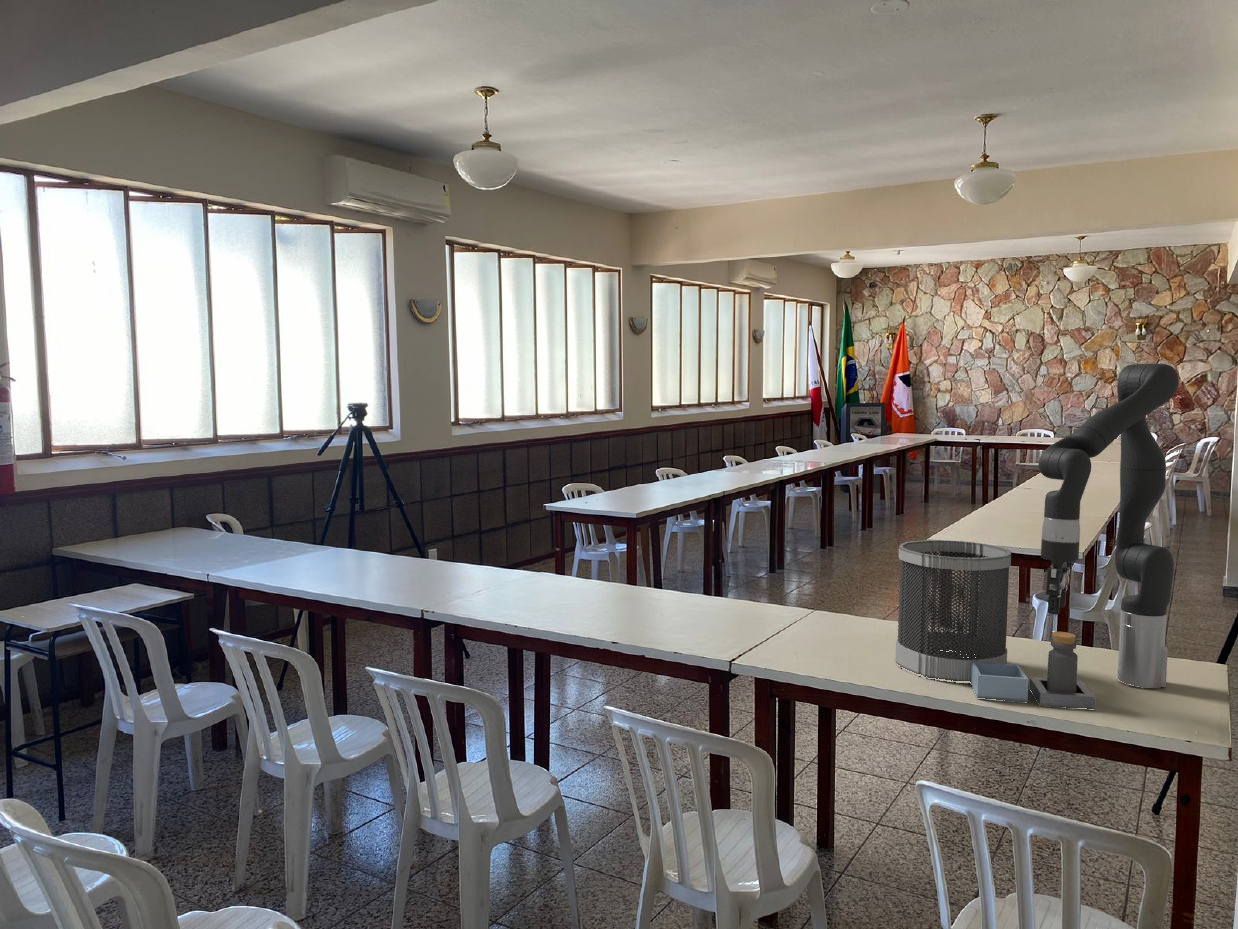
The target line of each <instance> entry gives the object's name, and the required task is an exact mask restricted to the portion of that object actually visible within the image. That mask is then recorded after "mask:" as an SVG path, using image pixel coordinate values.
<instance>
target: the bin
mask: <svg viewBox="0 0 1238 929" xmlns="http://www.w3.org/2000/svg"><path fill="white" fill-rule="evenodd" d="M970 682H971V684H972V687H973V689H974V691H975V693H974V695H975V694H976V696H977V698H985V699H996V700H1003V701H1002V702H1004V700H1005V701H1014V702H1013V703H1017V702H1027V703H1028V700H1029V699H1028V696H1029V693H1028V692H1029V678H1028V676H1027V675H1026V673H1025V671H1024V670H1023V669H1022V668H1021V666H1020V665H1019V664H1008V663H1007V664H997V663H983V662H971V680H970ZM972 687H971V688H972ZM973 689H972V690H973ZM974 691H973V692H974ZM976 696H975V697H976ZM977 698H976V699H977Z"/></svg>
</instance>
